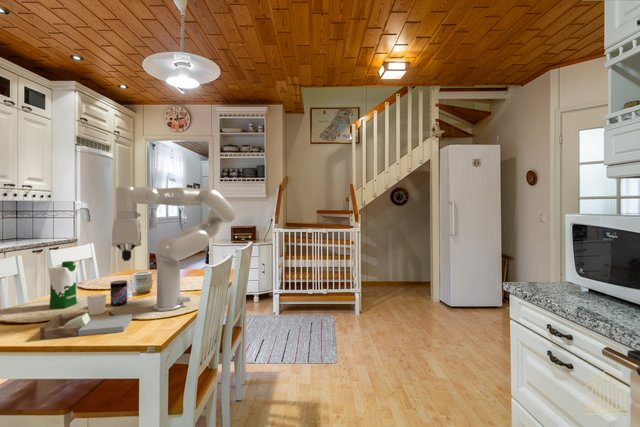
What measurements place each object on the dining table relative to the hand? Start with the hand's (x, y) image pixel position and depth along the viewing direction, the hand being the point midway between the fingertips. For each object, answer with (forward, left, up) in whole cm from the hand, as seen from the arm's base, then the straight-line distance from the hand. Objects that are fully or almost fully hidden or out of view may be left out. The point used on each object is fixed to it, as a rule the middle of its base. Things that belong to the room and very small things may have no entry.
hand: (126, 260), depth 137 cm
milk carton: (+30, -22, -23) cm, 44 cm away
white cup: (+13, -8, -23) cm, 28 cm away
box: (+17, +12, -23) cm, 31 cm away
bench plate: (+4, +12, -23) cm, 26 cm away
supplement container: (+7, -18, -23) cm, 30 cm away
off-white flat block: (+13, +12, -22) cm, 28 cm away
